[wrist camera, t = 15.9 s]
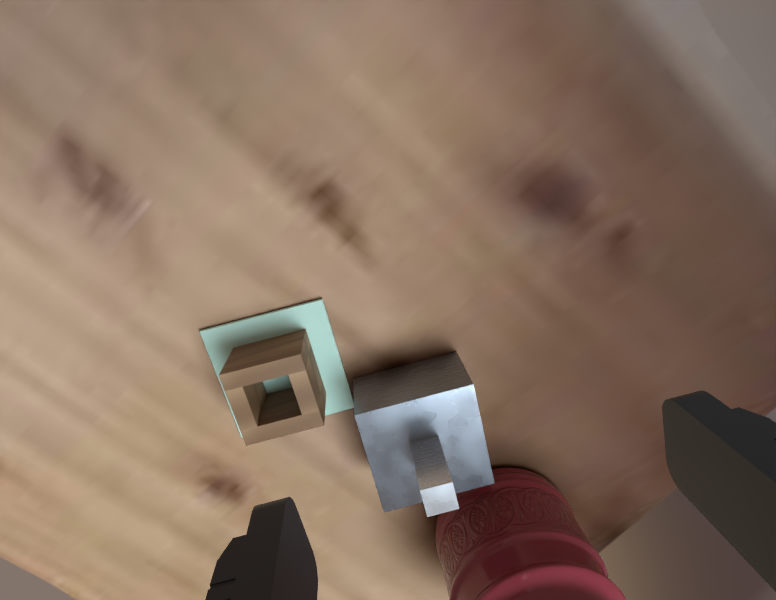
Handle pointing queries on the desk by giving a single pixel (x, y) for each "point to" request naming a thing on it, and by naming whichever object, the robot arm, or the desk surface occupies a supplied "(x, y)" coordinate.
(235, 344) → the mat
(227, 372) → the hollow wooden block
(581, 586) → the canister
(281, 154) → the desk surface
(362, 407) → the block
